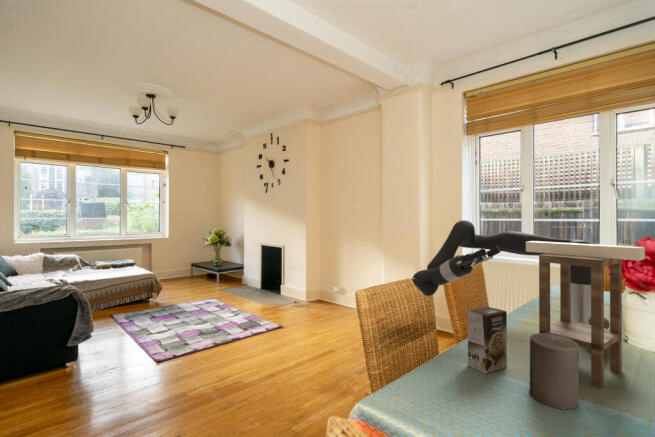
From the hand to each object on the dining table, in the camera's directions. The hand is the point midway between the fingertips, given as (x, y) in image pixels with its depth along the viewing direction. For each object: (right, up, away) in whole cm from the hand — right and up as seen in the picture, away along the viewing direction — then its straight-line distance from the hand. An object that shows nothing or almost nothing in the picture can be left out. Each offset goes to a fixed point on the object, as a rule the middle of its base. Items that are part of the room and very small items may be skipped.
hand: (492, 250), depth 113 cm
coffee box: (-10, -32, -18) cm, 38 cm away
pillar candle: (-3, -32, -34) cm, 47 cm away
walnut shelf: (+14, -31, -20) cm, 40 cm away
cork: (+29, -31, -9) cm, 44 cm away
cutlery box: (+14, +1, -20) cm, 25 cm away
